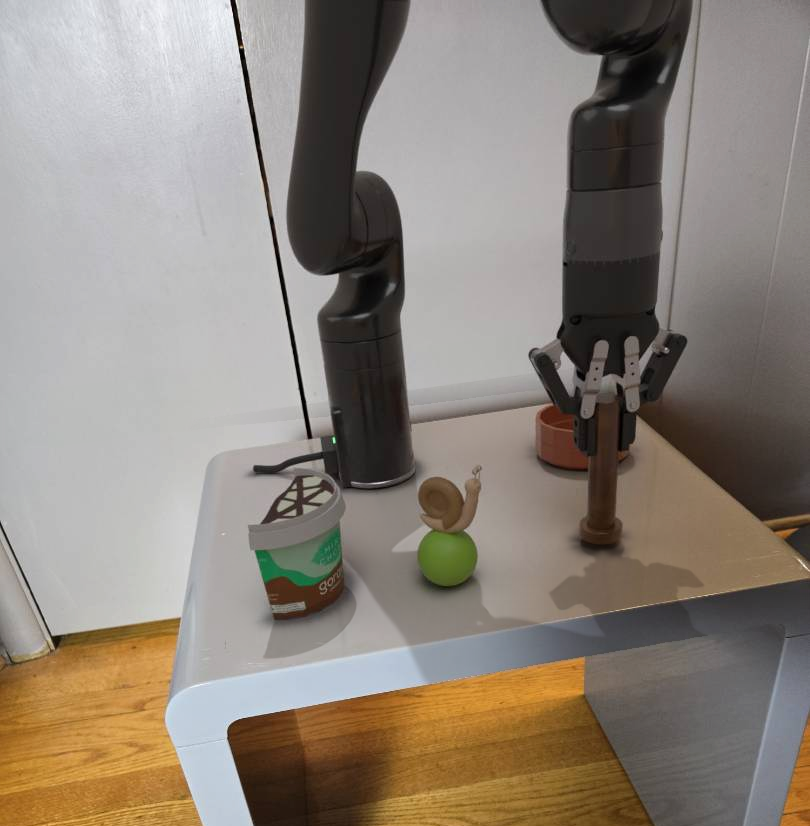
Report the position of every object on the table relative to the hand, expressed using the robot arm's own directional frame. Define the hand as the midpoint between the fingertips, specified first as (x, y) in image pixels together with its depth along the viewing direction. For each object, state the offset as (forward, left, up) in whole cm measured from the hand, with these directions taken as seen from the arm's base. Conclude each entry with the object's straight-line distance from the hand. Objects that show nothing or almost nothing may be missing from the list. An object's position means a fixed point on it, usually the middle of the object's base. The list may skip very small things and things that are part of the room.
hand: (603, 450), depth 67 cm
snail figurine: (-15, -3, -10) cm, 18 cm away
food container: (-27, -1, -10) cm, 29 cm away
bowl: (+6, +21, -10) cm, 24 cm away
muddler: (0, 0, -9) cm, 9 cm away
